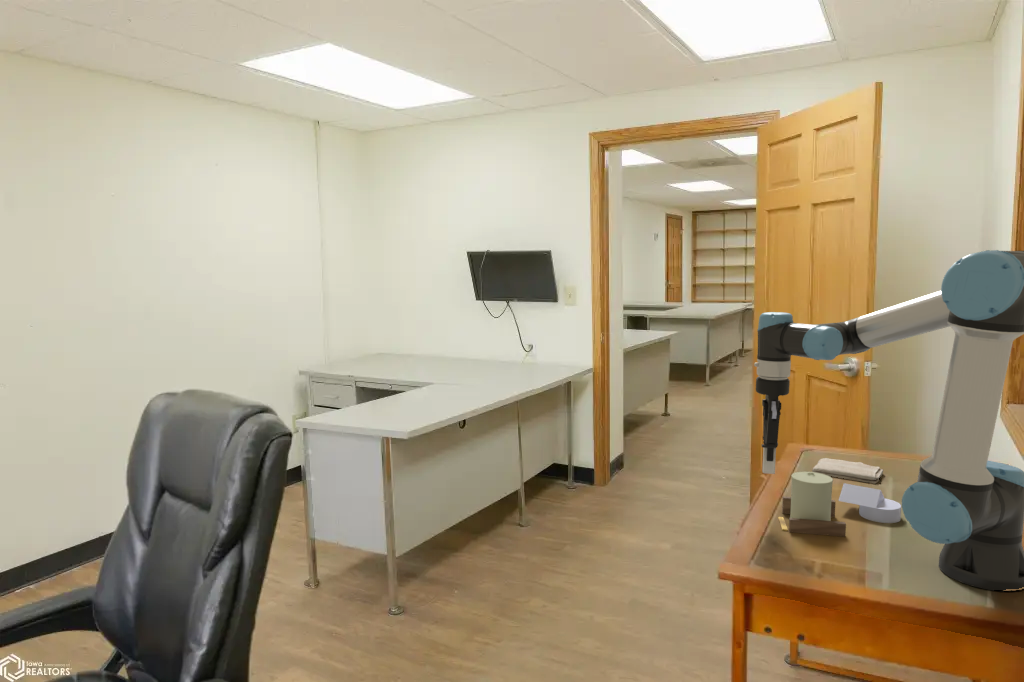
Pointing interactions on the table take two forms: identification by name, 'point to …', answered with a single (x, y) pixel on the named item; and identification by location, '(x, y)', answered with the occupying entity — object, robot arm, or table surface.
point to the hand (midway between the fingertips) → (768, 472)
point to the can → (811, 496)
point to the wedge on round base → (871, 503)
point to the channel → (812, 522)
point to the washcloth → (848, 470)
